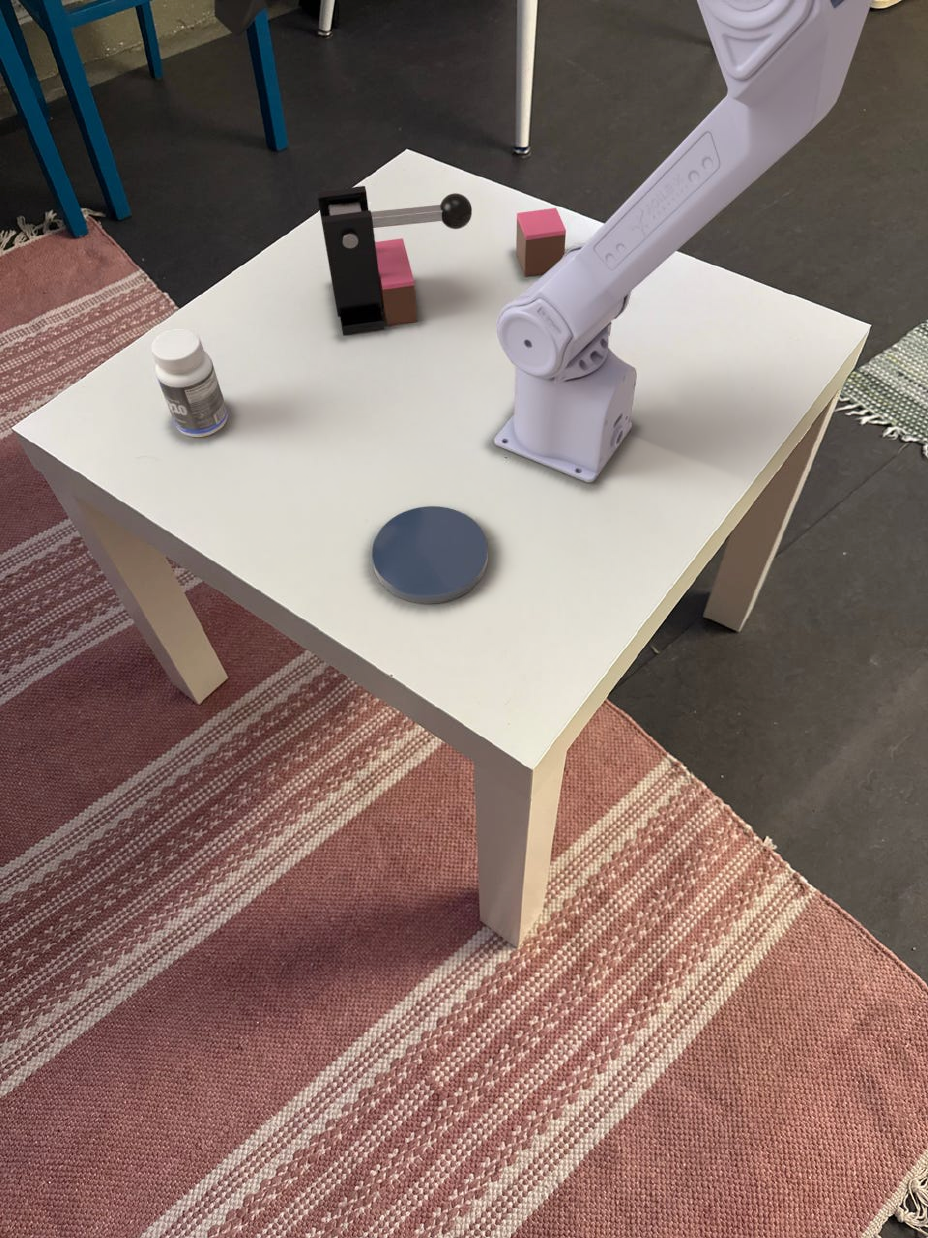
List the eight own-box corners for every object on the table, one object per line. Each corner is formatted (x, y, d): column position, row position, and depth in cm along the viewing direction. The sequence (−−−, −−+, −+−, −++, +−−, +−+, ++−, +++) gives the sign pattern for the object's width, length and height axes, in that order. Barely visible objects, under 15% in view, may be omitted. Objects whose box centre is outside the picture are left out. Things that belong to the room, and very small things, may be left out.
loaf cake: (406, 278, 92) (402, 237, 89) (417, 321, 89) (414, 280, 85) (377, 282, 92) (372, 241, 89) (386, 325, 88) (382, 285, 85)
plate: (508, 541, 73) (509, 532, 72) (449, 622, 68) (448, 614, 68) (413, 498, 75) (412, 490, 75) (350, 574, 71) (349, 566, 70)
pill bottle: (165, 418, 82) (135, 341, 75) (211, 394, 83) (185, 316, 77) (192, 446, 80) (164, 370, 73) (239, 421, 81) (215, 344, 74)
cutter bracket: (375, 279, 93) (362, 176, 84) (386, 329, 88) (374, 225, 79) (332, 285, 92) (314, 182, 83) (341, 335, 88) (323, 232, 79)
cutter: (468, 215, 86) (468, 185, 84) (474, 233, 84) (475, 203, 82) (331, 229, 85) (327, 198, 82) (334, 248, 83) (330, 217, 80)
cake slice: (553, 248, 95) (556, 207, 91) (563, 270, 92) (566, 229, 89) (516, 253, 94) (516, 212, 91) (524, 276, 92) (525, 235, 88)
